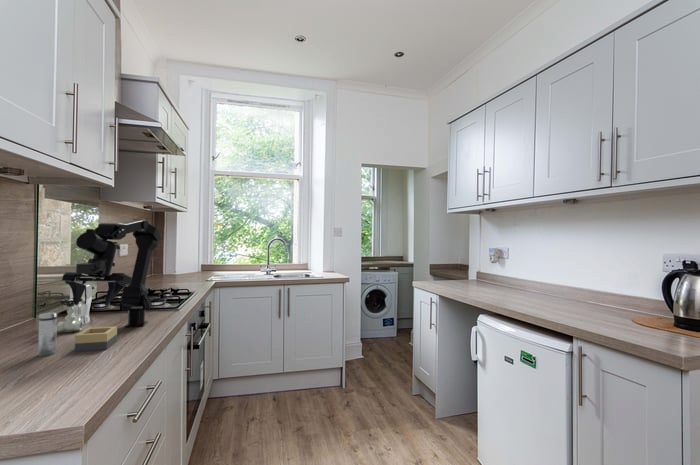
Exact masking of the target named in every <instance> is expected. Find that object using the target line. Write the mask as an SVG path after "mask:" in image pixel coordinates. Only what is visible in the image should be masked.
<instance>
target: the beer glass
mask: <svg viewBox="0 0 700 465" xmlns="http://www.w3.org/2000/svg"><path fill="white" fill-rule="evenodd" d="M85 285H86V287H85V290H84V292H83V295H82V297H81V299H82V302H79V304H78V305H74V306H73V307H72V309H74V313H72V314H73V315H74V316H76V317H75V319H74V321H80V320H81V321H82V322H83V325H86V324H90V322H91V320H90V309H91V305H92V304H91V303H92V299H93V288H92V285H91V284H85ZM72 298H73V293H72V289H71V288H70V291H69V299H72Z"/></svg>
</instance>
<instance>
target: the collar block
mask: <svg viewBox="0 0 700 465" xmlns="http://www.w3.org/2000/svg"><path fill="white" fill-rule="evenodd" d="M74 339H75V340H74V352H75V353H76V352H89V351H91V352H92V351H106V350H108V349H109V348H111V347H112V346H113V345H114V344H115V343H116V342H118V326H103V327H102V326H100V327H98V326H97V327H87V328H86V329H84V330H81V331H79V333H77V334H75V336H74Z"/></svg>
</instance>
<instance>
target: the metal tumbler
mask: <svg viewBox="0 0 700 465" xmlns="http://www.w3.org/2000/svg"><path fill="white" fill-rule="evenodd" d="M57 325H58V312H51V311H50V312H44V313H40V314H38V344H37V346H38V347H37V356H38V357H49V356H52V355H55V354H56V353H57V336H58V334H57V333H58V332H57Z"/></svg>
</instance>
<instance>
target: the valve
mask: <svg viewBox="0 0 700 465" xmlns="http://www.w3.org/2000/svg"><path fill="white" fill-rule="evenodd" d="M58 302H59V304H60V305H61V304H63V305H64V306H66V307H67V308H68V309H66V313H67V314H66V316H65V317H64V320H65V321H59V322H57V333H72V332H74V331H75V332H82V330H83V325H84V324H83V322H82V321H81V320H80V321H74V319H75V317H76V316H74V315H73V314H72V313H74V309H72V307H73V306H74V299H73V298H72V299H70V298H68V297H67V298H64V299H59V300H58ZM80 302H82V299H81V300H80Z"/></svg>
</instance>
